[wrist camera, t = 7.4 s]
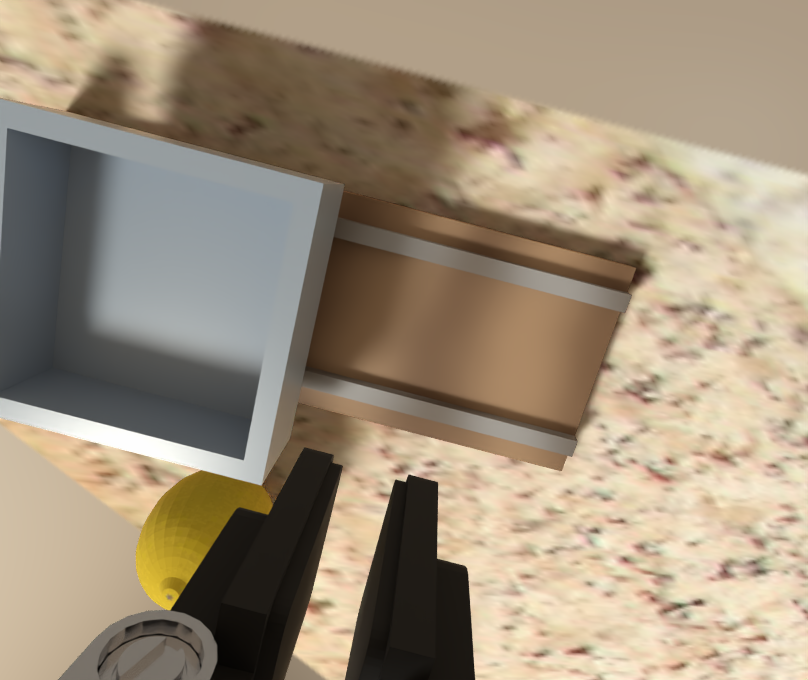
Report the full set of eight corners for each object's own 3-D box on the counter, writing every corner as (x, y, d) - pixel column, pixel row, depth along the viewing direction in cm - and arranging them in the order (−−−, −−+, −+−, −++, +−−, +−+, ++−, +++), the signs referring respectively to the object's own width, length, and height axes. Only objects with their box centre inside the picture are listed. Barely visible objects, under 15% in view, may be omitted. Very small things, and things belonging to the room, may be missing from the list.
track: (628, 264, 25) (663, 279, 21) (557, 461, 28) (576, 505, 24) (61, 116, 25) (-8, 103, 21) (44, 328, 28) (-20, 351, 24)
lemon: (168, 465, 29) (71, 565, 21) (260, 424, 28) (192, 513, 21) (222, 550, 30) (148, 674, 23) (312, 513, 29) (266, 629, 22)
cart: (352, 184, 23) (323, 183, 17) (301, 419, 26) (261, 485, 20) (97, 117, 23) (-17, 94, 17) (74, 360, 26) (-30, 409, 20)
